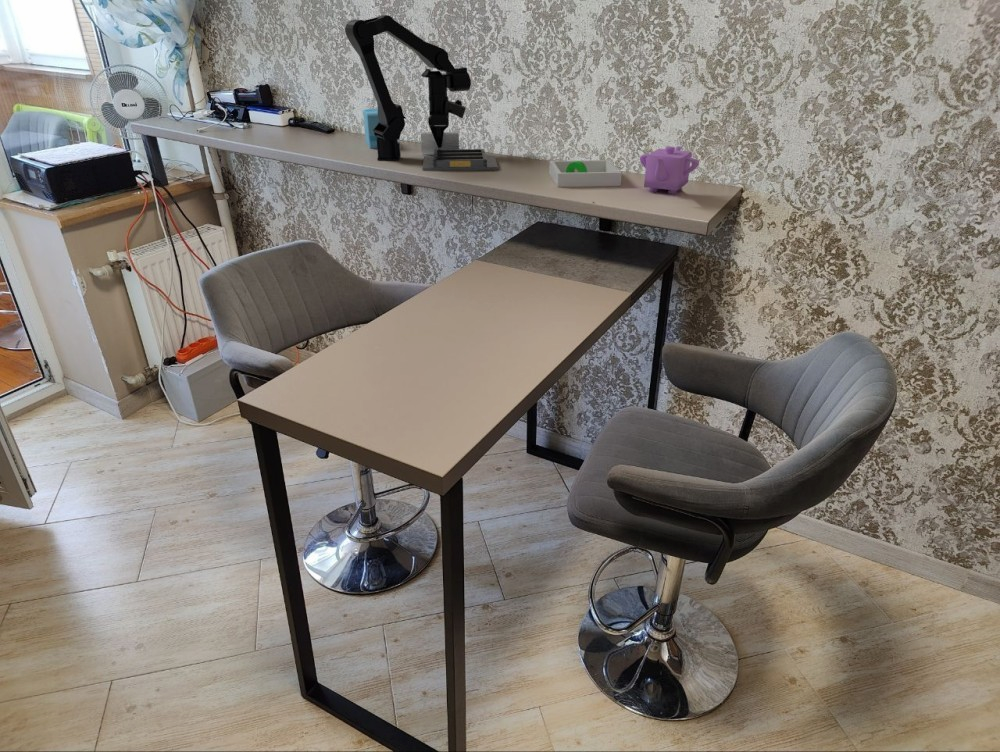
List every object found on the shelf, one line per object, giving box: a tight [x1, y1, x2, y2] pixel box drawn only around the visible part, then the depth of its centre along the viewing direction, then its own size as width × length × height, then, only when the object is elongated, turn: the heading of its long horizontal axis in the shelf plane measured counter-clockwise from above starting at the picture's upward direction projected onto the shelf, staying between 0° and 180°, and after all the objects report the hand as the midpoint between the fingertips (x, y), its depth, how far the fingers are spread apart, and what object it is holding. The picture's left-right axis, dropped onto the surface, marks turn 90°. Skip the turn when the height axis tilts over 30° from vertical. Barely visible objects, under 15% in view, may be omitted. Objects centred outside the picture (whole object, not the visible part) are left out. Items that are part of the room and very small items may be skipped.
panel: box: [420, 131, 460, 156], centre depth 220 cm, size 12×3×7 cm, turn 94°
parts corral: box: [548, 159, 623, 188], centre depth 190 cm, size 17×17×4 cm
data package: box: [362, 108, 379, 150], centre depth 230 cm, size 12×4×12 cm, turn 17°
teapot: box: [639, 145, 700, 195], centre depth 177 cm, size 15×13×11 cm
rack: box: [421, 148, 499, 172], centre depth 208 cm, size 22×18×3 cm
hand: (440, 145), depth 220 cm, fingers open, 9 cm apart
